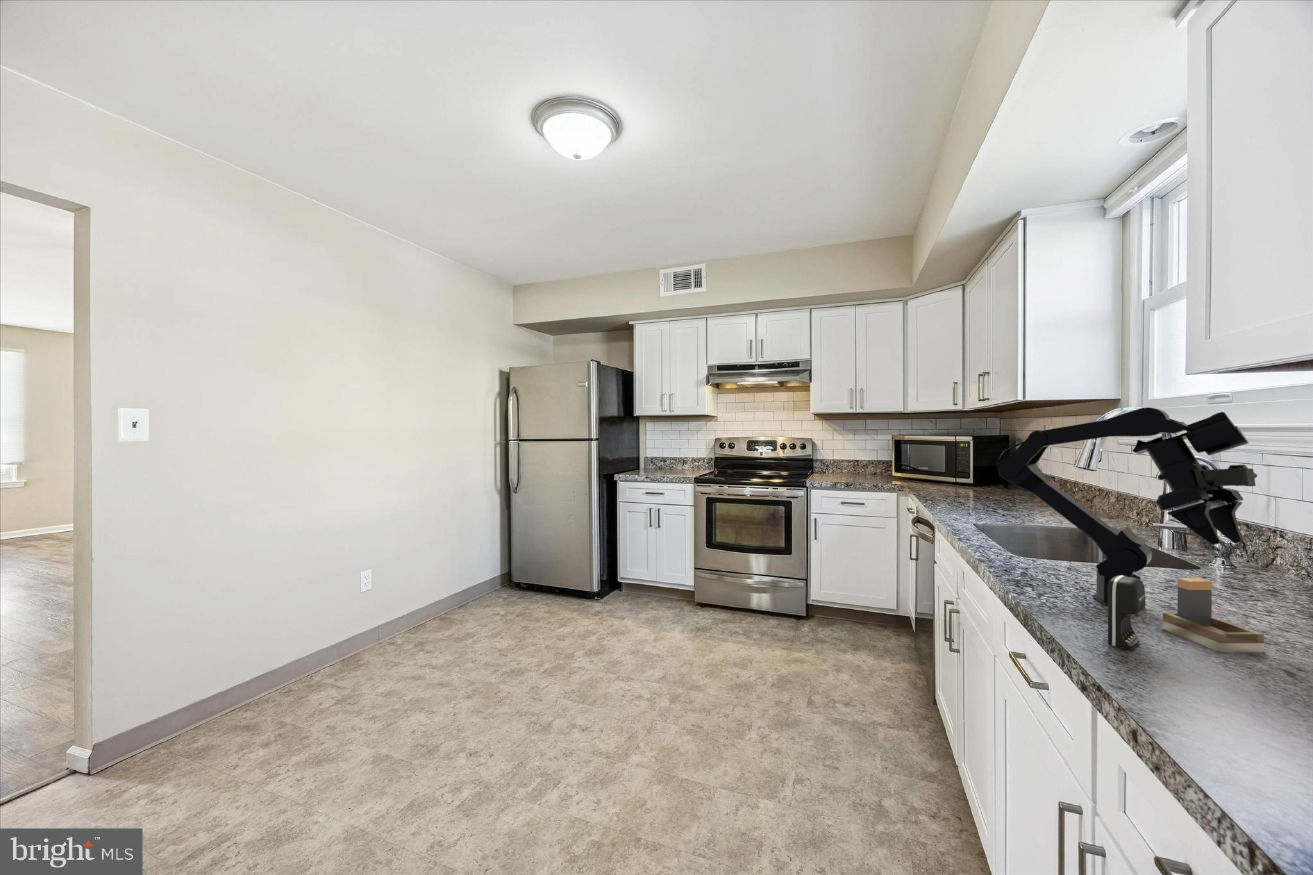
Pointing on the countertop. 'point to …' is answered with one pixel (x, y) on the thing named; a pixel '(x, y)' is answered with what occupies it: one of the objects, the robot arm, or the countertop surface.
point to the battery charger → (1124, 610)
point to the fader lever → (1195, 600)
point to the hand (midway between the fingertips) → (1227, 543)
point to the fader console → (1215, 634)
